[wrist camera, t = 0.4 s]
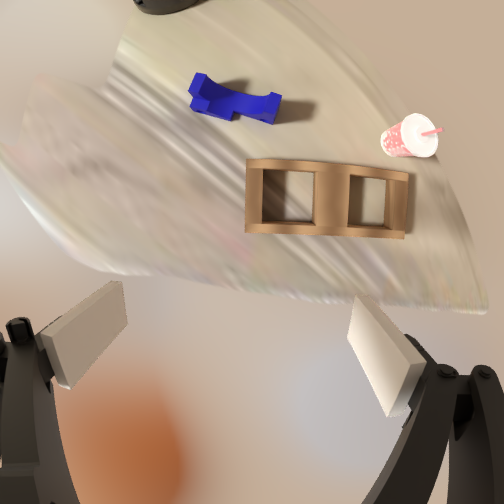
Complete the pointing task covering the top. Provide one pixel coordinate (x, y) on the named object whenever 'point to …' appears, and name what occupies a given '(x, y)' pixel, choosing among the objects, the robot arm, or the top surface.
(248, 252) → the top surface
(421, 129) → the beverage cup
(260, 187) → the wooden holder tray
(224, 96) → the blue notched block
